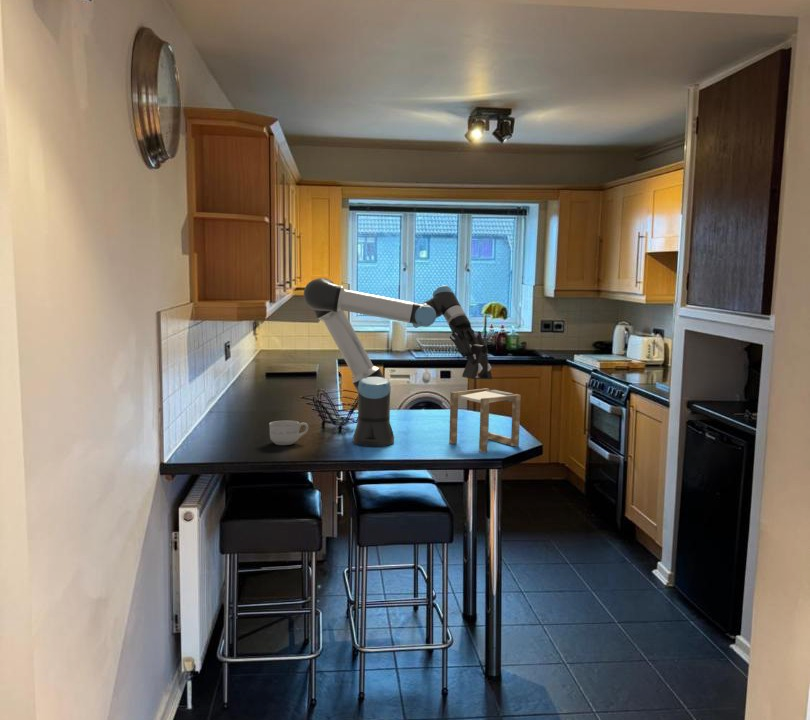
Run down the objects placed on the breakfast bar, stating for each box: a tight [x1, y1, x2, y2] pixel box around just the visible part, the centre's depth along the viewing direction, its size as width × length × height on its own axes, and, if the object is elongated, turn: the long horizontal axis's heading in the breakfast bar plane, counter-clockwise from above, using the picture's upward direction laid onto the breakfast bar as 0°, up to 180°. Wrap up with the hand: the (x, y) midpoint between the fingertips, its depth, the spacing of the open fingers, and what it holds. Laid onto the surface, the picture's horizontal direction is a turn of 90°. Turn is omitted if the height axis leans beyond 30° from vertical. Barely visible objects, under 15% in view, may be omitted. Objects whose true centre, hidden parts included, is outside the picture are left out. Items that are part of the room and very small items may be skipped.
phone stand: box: [461, 344, 493, 380], centre depth 259 cm, size 9×6×12 cm, turn 119°
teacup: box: [268, 420, 309, 446], centre depth 260 cm, size 14×11×8 cm
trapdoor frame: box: [448, 387, 522, 454], centre depth 264 cm, size 18×18×19 cm
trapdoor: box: [459, 389, 514, 404], centre depth 264 cm, size 13×16×3 cm
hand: (484, 370), depth 256 cm, fingers closed on phone stand, 3 cm apart
